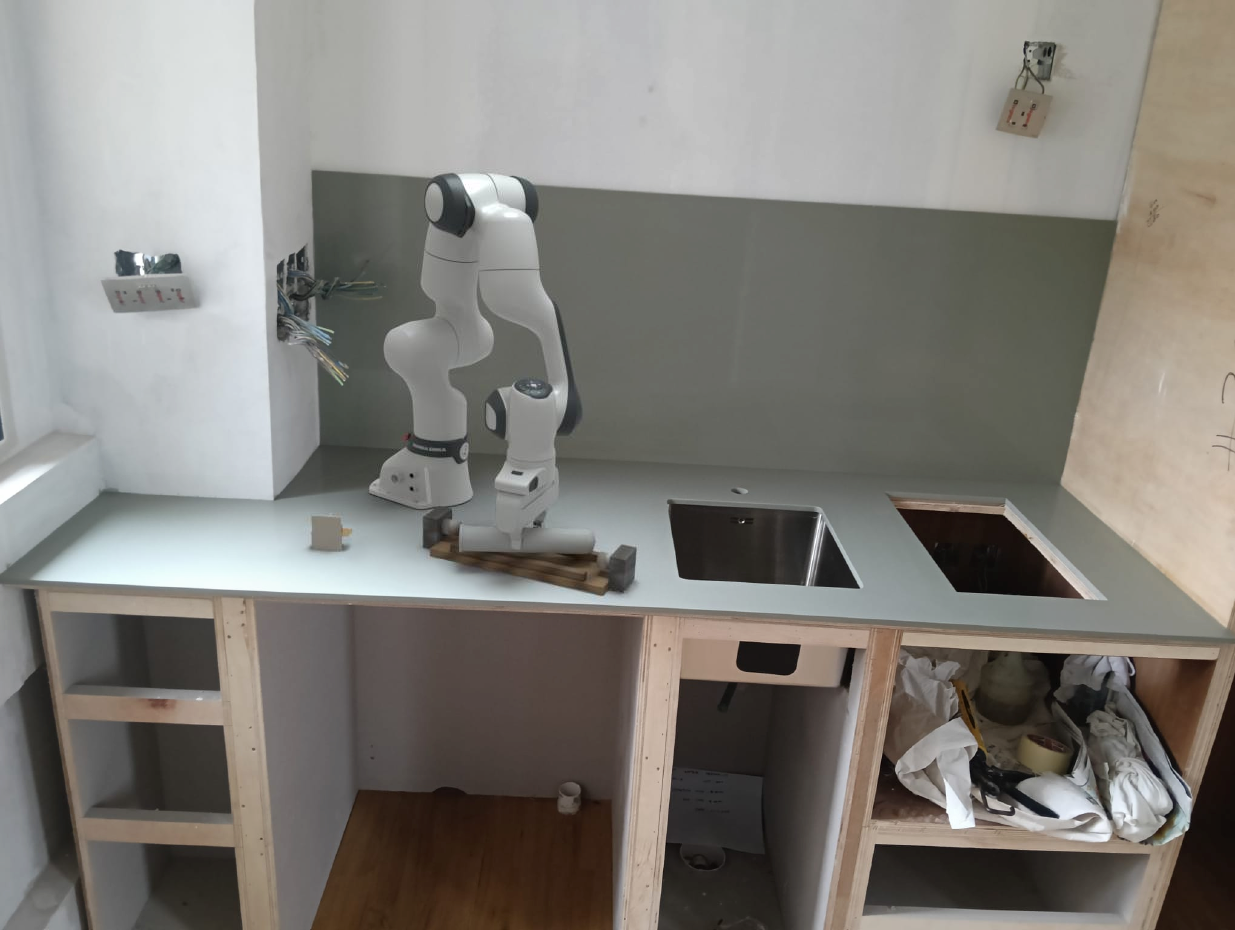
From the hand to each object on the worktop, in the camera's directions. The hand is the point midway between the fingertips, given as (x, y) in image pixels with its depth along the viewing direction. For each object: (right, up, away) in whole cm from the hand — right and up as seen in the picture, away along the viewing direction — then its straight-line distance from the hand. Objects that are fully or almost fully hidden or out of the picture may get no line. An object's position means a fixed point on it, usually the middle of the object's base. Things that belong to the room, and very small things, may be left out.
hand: (528, 538), depth 185 cm
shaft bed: (0, -5, +2) cm, 5 cm away
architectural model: (-38, -3, +3) cm, 38 cm away
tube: (0, -2, -1) cm, 2 cm away
